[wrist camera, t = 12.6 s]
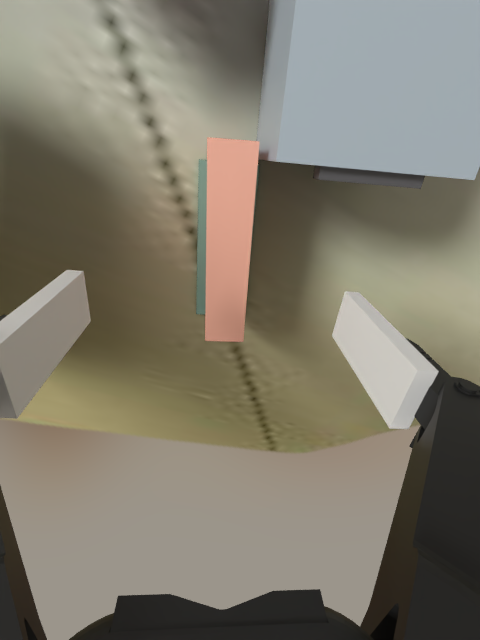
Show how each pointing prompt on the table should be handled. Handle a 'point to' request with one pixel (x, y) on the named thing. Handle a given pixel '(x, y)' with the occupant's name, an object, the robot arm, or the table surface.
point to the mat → (202, 235)
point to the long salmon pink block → (229, 235)
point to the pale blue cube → (373, 89)
